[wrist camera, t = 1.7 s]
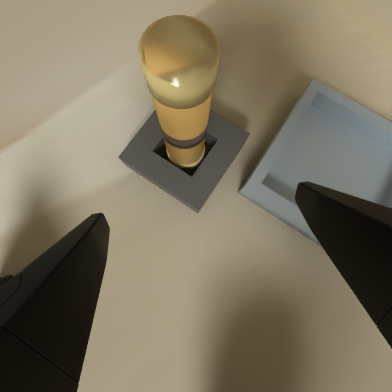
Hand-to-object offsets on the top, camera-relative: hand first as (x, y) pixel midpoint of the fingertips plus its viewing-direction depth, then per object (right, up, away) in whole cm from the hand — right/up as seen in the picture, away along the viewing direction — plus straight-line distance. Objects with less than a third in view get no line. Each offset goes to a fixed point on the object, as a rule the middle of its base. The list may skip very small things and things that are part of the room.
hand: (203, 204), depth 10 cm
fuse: (-2, +5, +15) cm, 16 cm away
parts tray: (+15, +3, +15) cm, 21 cm away
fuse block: (-2, +5, +15) cm, 16 cm away
